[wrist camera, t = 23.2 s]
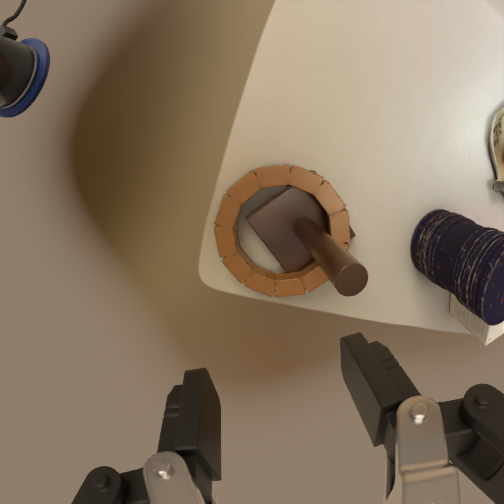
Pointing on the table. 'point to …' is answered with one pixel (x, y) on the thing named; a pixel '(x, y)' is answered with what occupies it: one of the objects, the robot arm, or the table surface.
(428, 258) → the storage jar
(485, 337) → the small box
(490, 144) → the avocado toast plate
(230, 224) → the ring
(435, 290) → the table surface
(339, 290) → the peg
